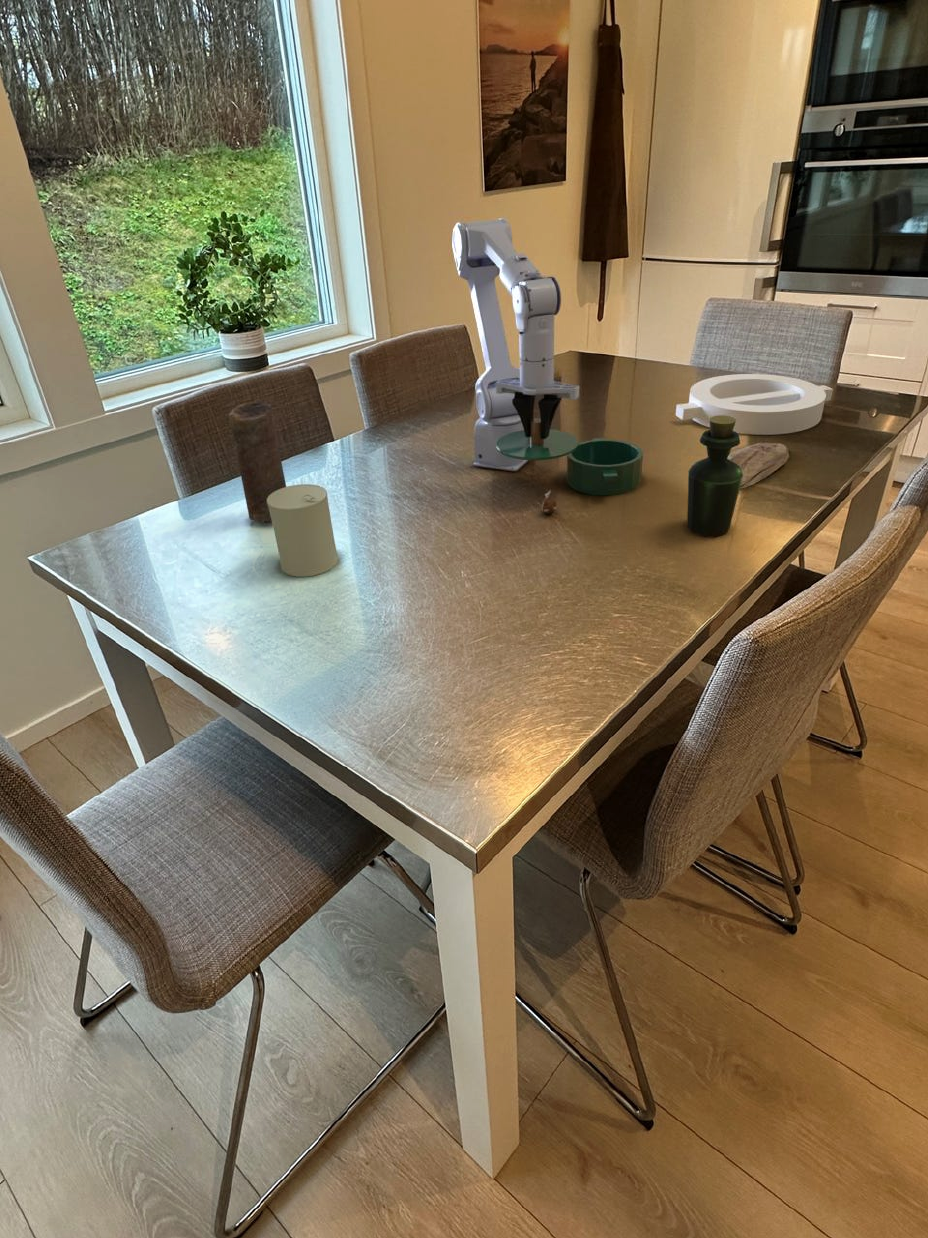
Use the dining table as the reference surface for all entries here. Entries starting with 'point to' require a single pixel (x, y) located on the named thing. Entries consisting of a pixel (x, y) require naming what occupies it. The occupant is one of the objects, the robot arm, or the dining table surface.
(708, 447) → the potion bottle
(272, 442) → the candle
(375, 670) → the dining table surface
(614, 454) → the pot
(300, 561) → the can
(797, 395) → the white circle with bar
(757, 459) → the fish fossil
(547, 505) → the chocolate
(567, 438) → the pot lid
